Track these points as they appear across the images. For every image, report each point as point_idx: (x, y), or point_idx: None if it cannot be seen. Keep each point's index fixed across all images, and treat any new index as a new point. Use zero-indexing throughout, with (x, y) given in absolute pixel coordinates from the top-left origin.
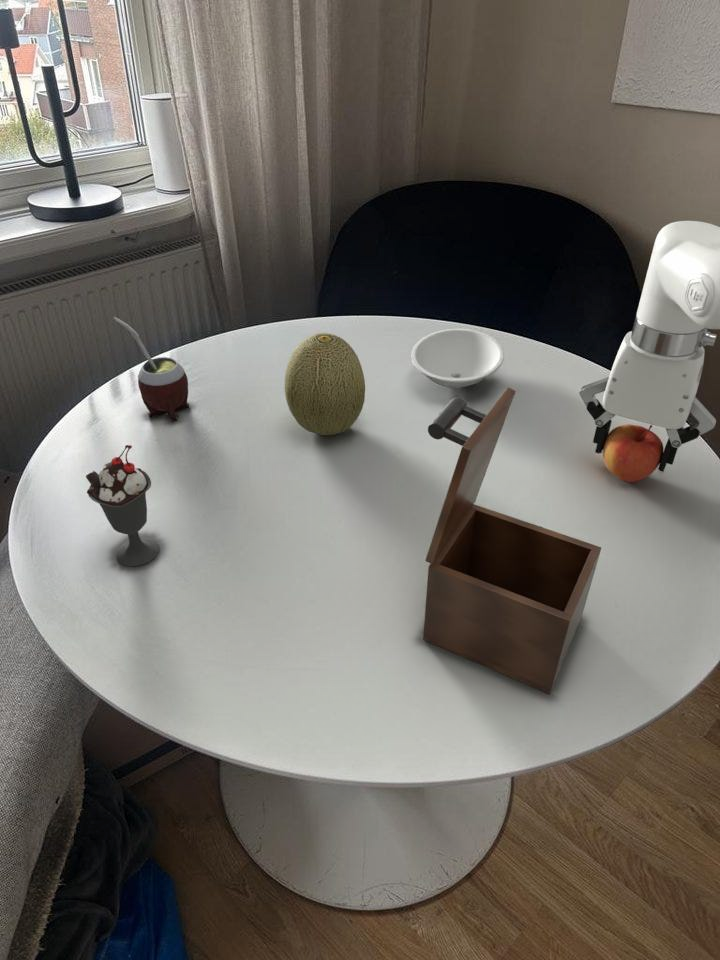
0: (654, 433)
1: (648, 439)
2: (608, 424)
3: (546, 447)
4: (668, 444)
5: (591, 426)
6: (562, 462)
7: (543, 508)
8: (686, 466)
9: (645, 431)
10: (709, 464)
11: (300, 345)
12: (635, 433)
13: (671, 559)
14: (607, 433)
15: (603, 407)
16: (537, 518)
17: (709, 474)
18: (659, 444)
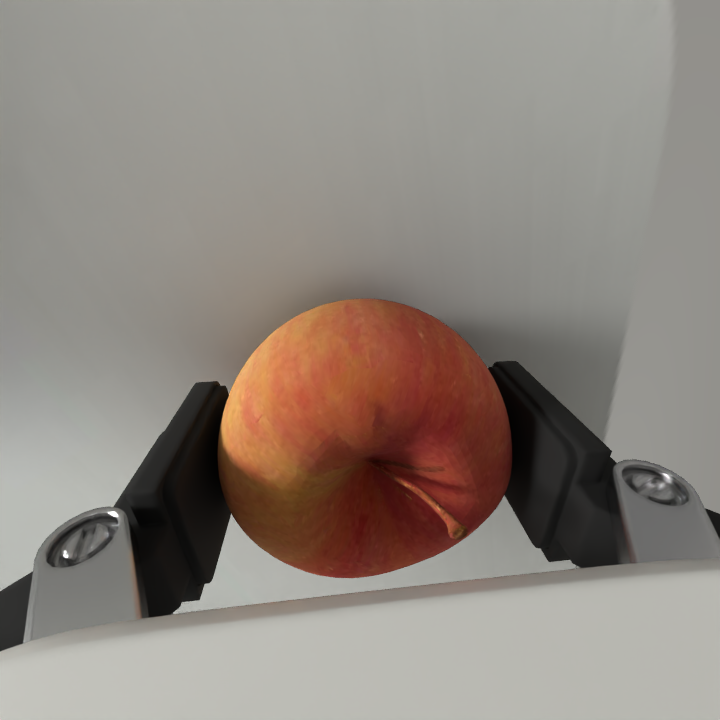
0: (463, 404)
1: (440, 490)
2: (185, 543)
3: (23, 354)
4: (557, 544)
5: (42, 32)
6: (136, 404)
7: (218, 574)
8: (561, 173)
9: (410, 439)
10: (664, 92)
11: None
12: (356, 456)
13: (509, 560)
14: (211, 468)
15: None
16: (225, 599)
17: (648, 182)
18: (500, 495)
